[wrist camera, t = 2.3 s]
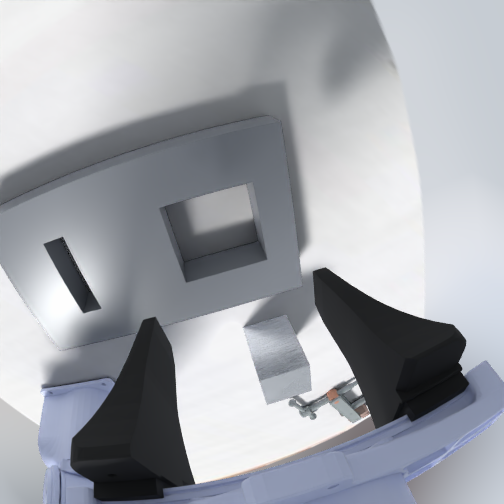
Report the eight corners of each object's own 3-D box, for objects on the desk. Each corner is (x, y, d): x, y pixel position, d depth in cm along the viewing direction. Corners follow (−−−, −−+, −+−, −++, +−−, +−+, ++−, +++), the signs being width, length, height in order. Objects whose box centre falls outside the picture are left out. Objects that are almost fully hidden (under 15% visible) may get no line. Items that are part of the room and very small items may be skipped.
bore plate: (64, 329, 24) (59, 350, 22) (-6, 208, 17) (-21, 224, 15) (291, 267, 26) (302, 286, 24) (268, 115, 19) (280, 121, 17)
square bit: (250, 354, 30) (266, 404, 25) (242, 327, 28) (259, 380, 23) (290, 342, 31) (311, 390, 26) (286, 314, 28) (309, 364, 23)
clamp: (386, 404, 42) (330, 436, 44) (380, 394, 44) (325, 425, 45) (362, 369, 34) (289, 411, 35) (354, 356, 36) (284, 397, 37)
